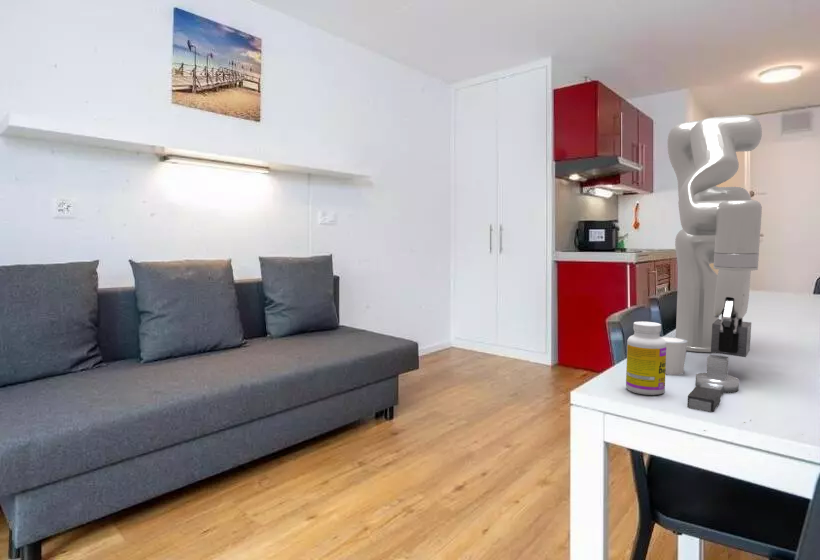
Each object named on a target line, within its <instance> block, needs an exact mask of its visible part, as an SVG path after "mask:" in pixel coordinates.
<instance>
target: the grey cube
mask: <svg viewBox="0 0 820 560" xmlns="http://www.w3.org/2000/svg"><path fill="white" fill-rule="evenodd" d="M731 322H733V321H731ZM733 323H734V322H733ZM720 327H721V319H720V318H719V319H717V320H716V321H715V322H714V323H713V324H712V339H711V352H710V353H713V354H717V355H719V354H720V355H727V356H735V357H740V358H747V356H748V355H749V353H750V350H751V349H750V348H751V334H752V322H751V321H743V322H742V321H738V328H737V333H738V334H739V337H738V352H737V353H728V352H721V351H719V350H718V348H719V332H720Z"/></svg>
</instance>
